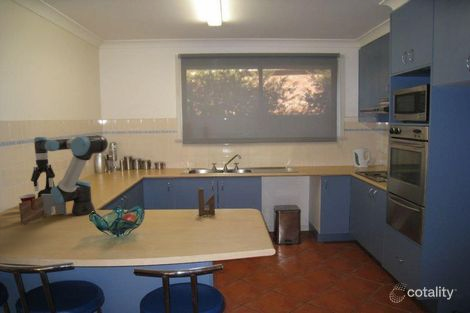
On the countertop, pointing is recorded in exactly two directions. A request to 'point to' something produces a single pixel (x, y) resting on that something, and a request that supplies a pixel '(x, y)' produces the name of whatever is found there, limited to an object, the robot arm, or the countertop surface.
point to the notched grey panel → (49, 205)
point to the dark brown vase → (46, 188)
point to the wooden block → (206, 203)
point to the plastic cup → (28, 198)
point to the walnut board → (30, 214)
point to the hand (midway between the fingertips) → (44, 188)
